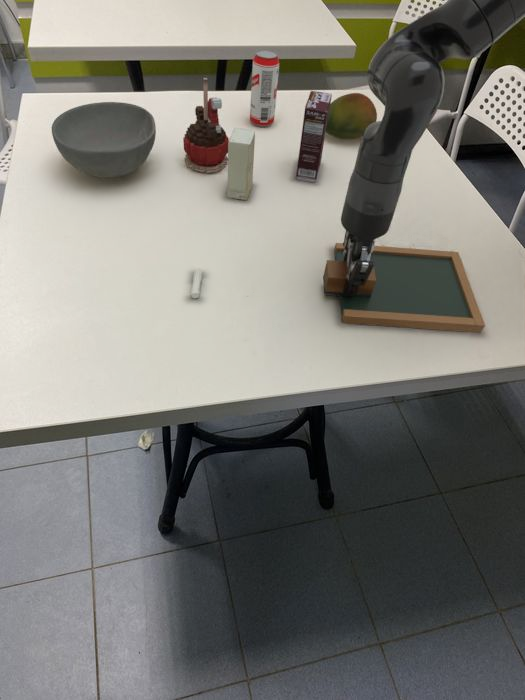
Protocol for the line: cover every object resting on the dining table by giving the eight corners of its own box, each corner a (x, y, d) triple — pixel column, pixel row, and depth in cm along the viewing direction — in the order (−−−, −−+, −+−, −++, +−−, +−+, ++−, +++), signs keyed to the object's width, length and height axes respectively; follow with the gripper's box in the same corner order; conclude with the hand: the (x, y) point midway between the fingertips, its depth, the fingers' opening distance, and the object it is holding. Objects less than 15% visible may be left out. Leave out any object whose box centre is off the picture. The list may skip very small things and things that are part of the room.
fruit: (378, 142, 123) (389, 102, 115) (338, 153, 118) (347, 111, 111) (349, 122, 129) (358, 82, 121) (311, 131, 124) (317, 90, 117)
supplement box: (300, 160, 115) (310, 89, 102) (320, 164, 114) (333, 93, 102) (294, 180, 109) (304, 107, 97) (315, 183, 109) (328, 111, 97)
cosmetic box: (246, 201, 102) (250, 145, 93) (226, 197, 103) (227, 141, 93) (252, 185, 106) (256, 130, 97) (232, 181, 107) (234, 126, 97)
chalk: (198, 267, 85) (192, 271, 86) (195, 291, 82) (189, 295, 82) (204, 272, 86) (198, 276, 87) (200, 296, 82) (194, 299, 83)
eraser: (367, 280, 87) (373, 262, 84) (370, 297, 85) (376, 280, 81) (323, 277, 87) (326, 259, 84) (324, 294, 84) (328, 277, 81)
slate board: (454, 259, 95) (458, 251, 94) (480, 332, 83) (485, 325, 82) (334, 250, 94) (335, 242, 93) (342, 323, 82) (344, 315, 80)
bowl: (57, 149, 110) (45, 103, 102) (149, 140, 115) (144, 96, 107) (67, 200, 98) (55, 152, 90) (168, 187, 103) (165, 141, 96)
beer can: (251, 128, 123) (256, 58, 110) (247, 116, 127) (250, 47, 114) (276, 128, 124) (283, 58, 112) (271, 116, 128) (277, 48, 116)
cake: (179, 154, 112) (174, 69, 98) (218, 149, 115) (219, 66, 101) (193, 179, 106) (190, 92, 92) (233, 173, 109) (237, 88, 95)
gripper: (404, 230, 68) (374, 315, 81) (389, 174, 77) (364, 259, 90) (351, 225, 68) (328, 312, 81) (342, 170, 77) (323, 256, 90)
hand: (347, 284), depth 85 cm, fingers closed on eraser, 4 cm apart
